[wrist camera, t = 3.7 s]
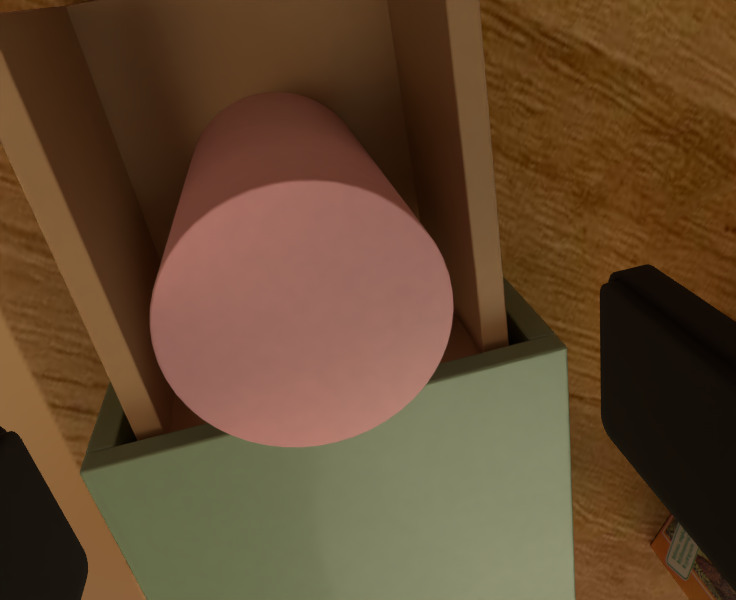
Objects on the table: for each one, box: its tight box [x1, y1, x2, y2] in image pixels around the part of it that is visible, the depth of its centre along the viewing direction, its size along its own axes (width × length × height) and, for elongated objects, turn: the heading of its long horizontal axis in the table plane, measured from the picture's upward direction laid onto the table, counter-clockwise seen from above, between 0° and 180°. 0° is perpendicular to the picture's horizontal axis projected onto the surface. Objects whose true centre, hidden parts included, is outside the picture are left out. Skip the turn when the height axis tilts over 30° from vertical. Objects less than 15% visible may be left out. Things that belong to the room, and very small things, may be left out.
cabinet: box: [80, 276, 575, 600], centre depth 25 cm, size 16×14×10 cm
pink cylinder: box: [150, 92, 454, 447], centre depth 17 cm, size 6×6×10 cm
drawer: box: [0, 0, 509, 441], centre depth 17 cm, size 19×12×8 cm, turn 10°
